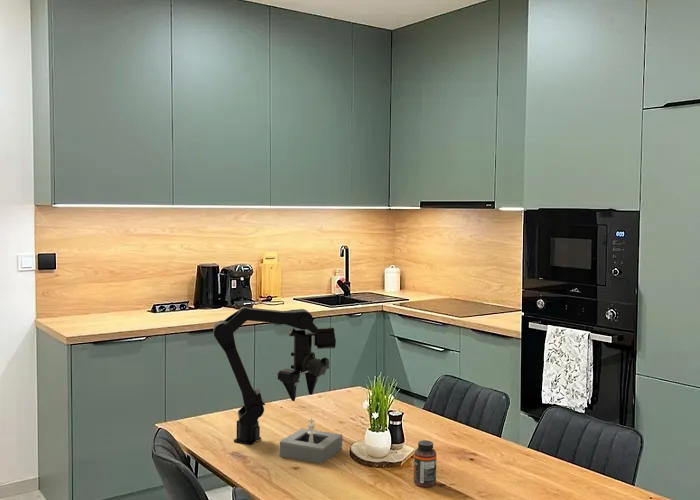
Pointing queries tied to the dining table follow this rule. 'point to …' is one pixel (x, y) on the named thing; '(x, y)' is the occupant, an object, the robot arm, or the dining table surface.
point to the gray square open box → (311, 446)
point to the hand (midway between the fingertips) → (302, 397)
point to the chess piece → (311, 431)
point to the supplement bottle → (425, 464)
